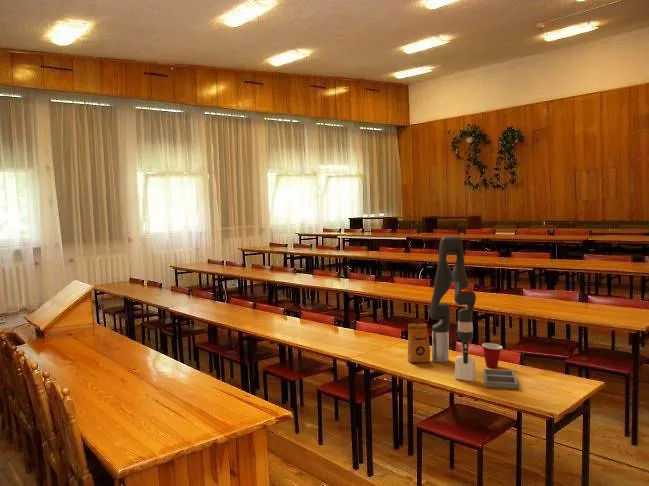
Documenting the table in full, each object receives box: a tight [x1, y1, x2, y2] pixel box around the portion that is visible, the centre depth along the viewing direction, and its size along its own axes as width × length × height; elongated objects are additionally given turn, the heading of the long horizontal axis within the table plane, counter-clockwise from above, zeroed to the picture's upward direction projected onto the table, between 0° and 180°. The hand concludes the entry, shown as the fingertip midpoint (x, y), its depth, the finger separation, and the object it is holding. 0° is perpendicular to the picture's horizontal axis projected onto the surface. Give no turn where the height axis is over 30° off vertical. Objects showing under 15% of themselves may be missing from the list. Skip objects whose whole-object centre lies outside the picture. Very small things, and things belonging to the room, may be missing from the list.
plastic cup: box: [481, 342, 503, 369], centre depth 300 cm, size 11×11×12 cm
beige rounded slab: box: [454, 355, 476, 383], centre depth 280 cm, size 10×4×12 cm, turn 60°
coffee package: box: [407, 323, 431, 364], centre depth 312 cm, size 10×12×22 cm
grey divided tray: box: [482, 368, 519, 391], centre depth 276 cm, size 15×21×3 cm
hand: (465, 361), depth 279 cm, fingers open, 8 cm apart
